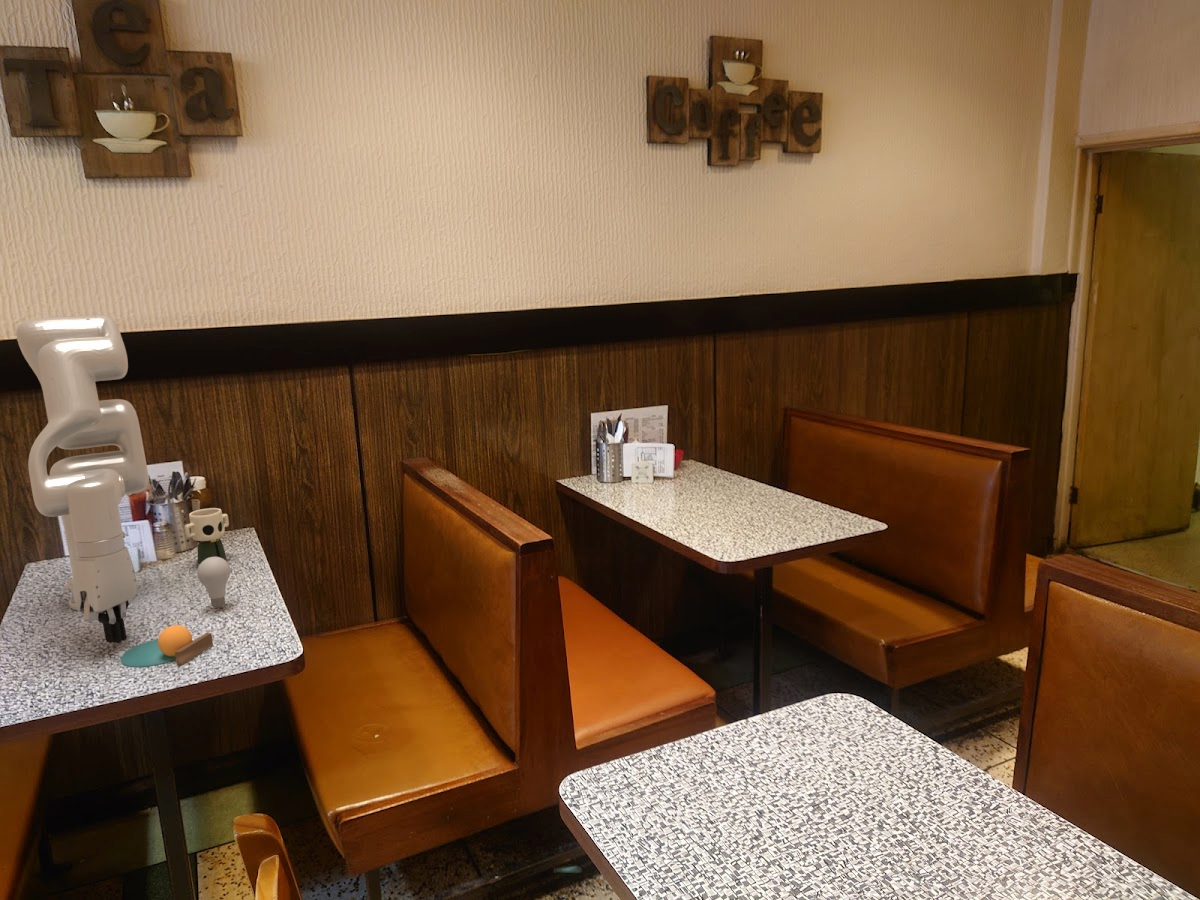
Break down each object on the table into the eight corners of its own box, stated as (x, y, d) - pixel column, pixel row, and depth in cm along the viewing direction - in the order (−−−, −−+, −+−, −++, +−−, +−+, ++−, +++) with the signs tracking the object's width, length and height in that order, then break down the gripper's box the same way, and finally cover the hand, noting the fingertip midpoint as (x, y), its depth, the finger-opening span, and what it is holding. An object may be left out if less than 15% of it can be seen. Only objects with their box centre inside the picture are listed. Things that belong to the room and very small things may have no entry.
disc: (104, 664, 147) (104, 663, 147) (155, 635, 158) (155, 634, 158) (161, 669, 144) (161, 668, 144) (209, 640, 155) (209, 639, 155)
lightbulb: (226, 613, 168) (219, 562, 166) (197, 614, 168) (189, 563, 166) (240, 602, 174) (233, 552, 172) (211, 603, 174) (204, 553, 172)
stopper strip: (176, 665, 146) (174, 651, 145) (208, 645, 153) (206, 632, 153) (181, 665, 145) (179, 652, 145) (213, 645, 153) (211, 633, 152)
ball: (159, 665, 147) (145, 637, 147) (182, 652, 153) (168, 625, 152) (181, 656, 146) (167, 628, 145) (204, 643, 151) (190, 616, 150)
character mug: (200, 573, 192) (192, 519, 190) (182, 568, 196) (174, 516, 194) (242, 559, 201) (235, 507, 199) (224, 555, 205) (217, 504, 203)
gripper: (116, 532, 157) (131, 623, 161) (47, 558, 143) (65, 657, 147) (149, 534, 156) (163, 625, 159) (82, 561, 141) (99, 660, 145)
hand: (116, 640), depth 153 cm, fingers closed
